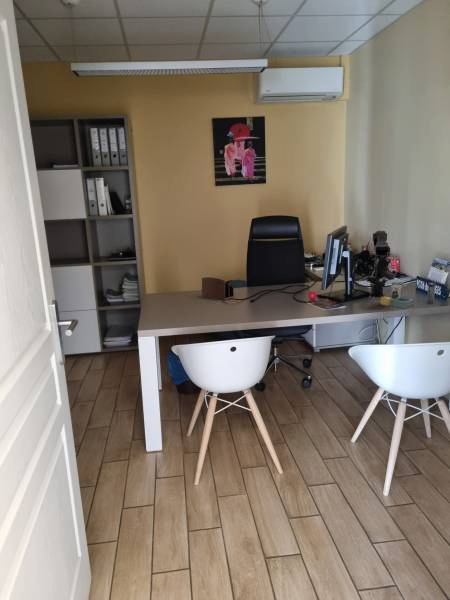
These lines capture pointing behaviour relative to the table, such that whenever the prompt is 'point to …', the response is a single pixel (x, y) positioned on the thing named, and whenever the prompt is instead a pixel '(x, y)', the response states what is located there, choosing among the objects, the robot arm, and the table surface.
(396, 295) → the trolley castor
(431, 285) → the stop pin
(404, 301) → the parts tray
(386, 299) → the chock
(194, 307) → the table surface
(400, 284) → the mechanical component
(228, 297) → the letter holder
